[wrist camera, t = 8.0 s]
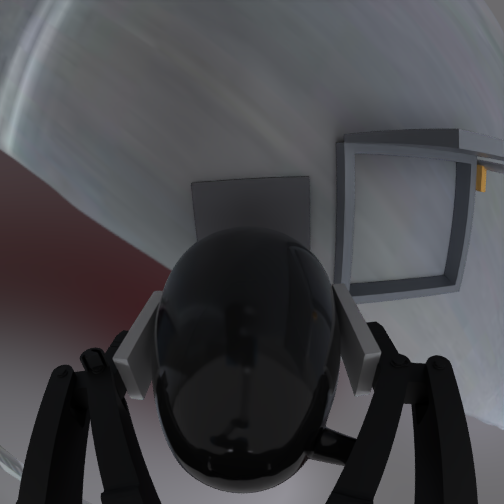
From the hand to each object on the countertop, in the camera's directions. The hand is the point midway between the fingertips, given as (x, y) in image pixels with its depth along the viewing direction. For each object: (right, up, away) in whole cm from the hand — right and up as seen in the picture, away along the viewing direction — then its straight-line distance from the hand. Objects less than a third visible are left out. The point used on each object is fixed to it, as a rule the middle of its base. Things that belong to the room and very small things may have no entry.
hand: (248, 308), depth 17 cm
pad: (0, +5, +14) cm, 15 cm away
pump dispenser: (0, +1, +4) cm, 4 cm away
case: (+18, +7, +13) cm, 23 cm away
